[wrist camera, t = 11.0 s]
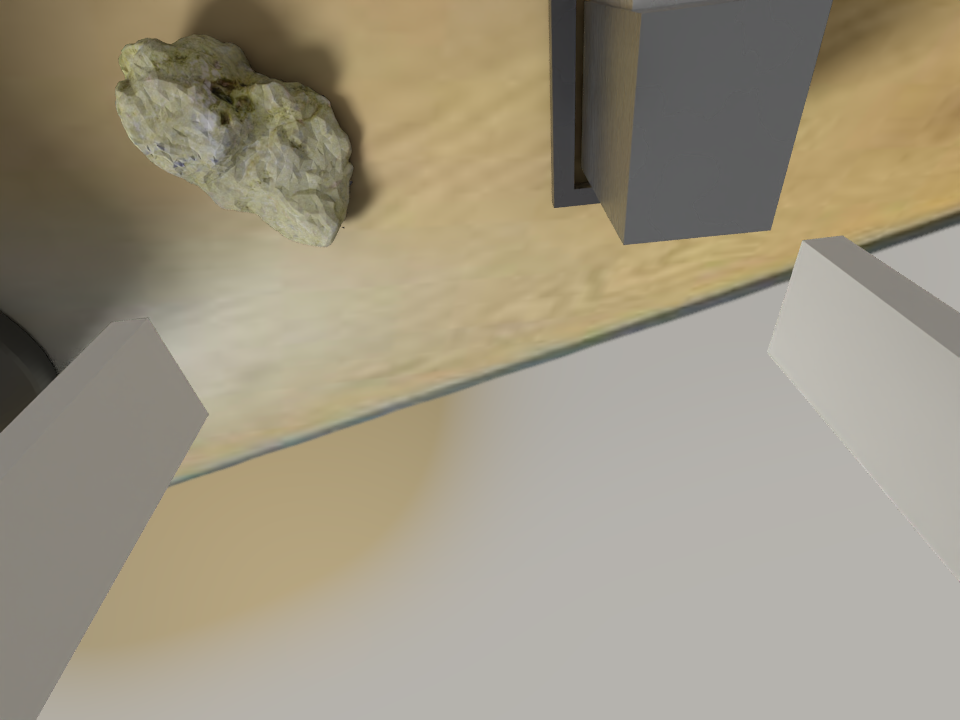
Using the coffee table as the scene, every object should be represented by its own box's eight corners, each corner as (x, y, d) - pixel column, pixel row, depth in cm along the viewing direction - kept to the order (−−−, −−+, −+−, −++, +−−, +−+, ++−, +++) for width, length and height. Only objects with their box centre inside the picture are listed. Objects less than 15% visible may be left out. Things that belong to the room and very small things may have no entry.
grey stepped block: (581, 167, 29) (623, 244, 21) (584, -12, 24) (643, -6, 15) (684, 156, 29) (770, 230, 20) (711, -29, 23) (841, -32, 15)
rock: (354, 228, 33) (365, 68, 26) (328, 287, 29) (335, 115, 22) (186, 187, 32) (149, 5, 24) (132, 243, 27) (69, 41, 20)
